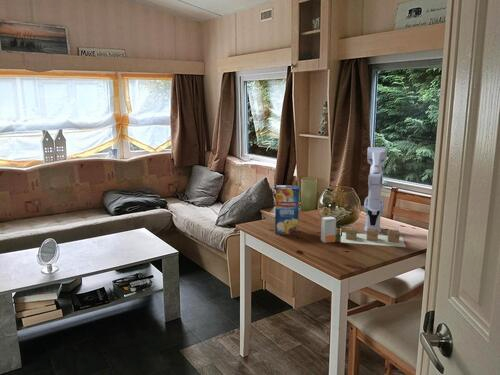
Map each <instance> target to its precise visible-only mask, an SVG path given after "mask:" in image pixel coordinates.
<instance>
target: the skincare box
mask: <svg viewBox="0 0 500 375" xmlns="http://www.w3.org/2000/svg"><path fill="white" fill-rule="evenodd" d="M320 225H321V226H320V241H321V242H322V243H324V244H325V243H335V242H336V228H337V218H336V217H334V216H324V217H321V224H320Z"/></svg>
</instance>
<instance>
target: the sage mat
mask: <svg viewBox="0 0 500 375" xmlns="http://www.w3.org/2000/svg"><path fill="white" fill-rule="evenodd" d="M387 237H388V234H387V235H383V234H378V240H377V241H367V233H357V236H356V240H352V239H346V232H342V236H341V235H340V243H345V244H357V245H358V244H359V245H373V246H385V247H398V248H399V247H401V248H406V243H405V241H404V238H403V236H402V235H401V236H399V243H394V242H388V239H387Z"/></svg>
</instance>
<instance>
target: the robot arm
mask: <svg viewBox="0 0 500 375" xmlns="http://www.w3.org/2000/svg"><path fill="white" fill-rule="evenodd" d="M366 154H367V155H366V156H367V159H366V160H367V164H369V165H370V169H369V175H368V182H367V184H368V196H367V197H365V199H364V204H363V206H364V207H363V212H364V213H365V215H366V216H365V217H366V218H365V225H364V232H367V228H377V229H378V233H382V230H381V215H383V213H384V210H385V208H384V206H385V203H384V202H385V201H384V198H383V197H382V196H381V195H382V187H383V180H384V178H383V176H384V175H383V166H384V165H385V164H386V162H387V157H388V155H387V154H388V148H387V147H374V146H371V147H370V146H368V147H367V153H366Z"/></svg>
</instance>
